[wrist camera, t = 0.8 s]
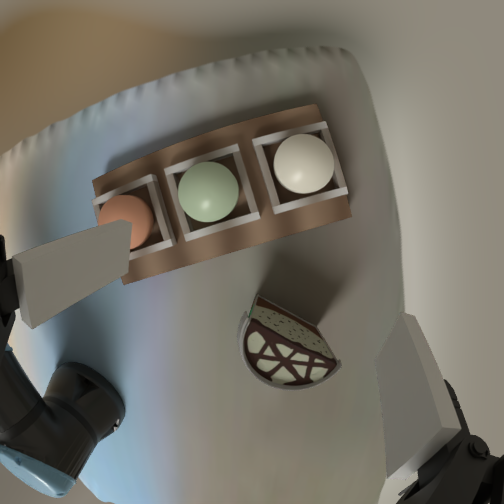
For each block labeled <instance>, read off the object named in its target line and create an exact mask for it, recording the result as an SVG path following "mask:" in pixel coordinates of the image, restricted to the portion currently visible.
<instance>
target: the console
mask: <svg viewBox="0 0 504 504" xmlns="http://www.w3.org/2000/svg"><path fill="white" fill-rule="evenodd" d="M297 134H309V135H312V136H315V137H317V138H319V139H321V140H322V141H323V142H324V143H325V144H326V145H327V146H328V147H329V149H330V151H331V152H332V155H333V159H334V171H333V175H332V177H331V179H330V181H329V182H328V183H327V184H326V185H325V186H324V187H323V188H321V189H320V190H318V191H315V192H310V193H305V194H299V193H294V192H291V191H289V190H287V189H286V188H284V187H283V186H282V185H281V184H280V183H279V181H278V180H277V178H276V176H275V173H274V169H273V161H274V157H275V154H276V152H277V150H278V148H279V146H280V145H281V144H282V142H283V141H285V140H286V139H287V138H289V137H291V136H294V135H297ZM202 162H215V163H219V164H221V165H223V166H225V167H226V168H227V169H229V170H230V172H231V173H232V174H233V175H234V177H235V178H236V180H237V183H238V186H239V199H238V202H237V204H236V206H235V208H234V209H233V210H232V212H231V213H230V214H228V215H227V216H226V217H224V218H222V219H219V220H217V221H213V222H202V221H198V220H195V219H193V218H192V217H190V216H189V215H188V214H187V213H186V212H185V211H184V210H183V208H182V207H181V205H180V202H179V198H178V187H179V183H180V181H181V178H182V177H183V175H184V174H185V172H186V171H187V170H188V169H190V168H191V167H192V166H194V165H196V164H198V163H202ZM92 182H93V187H94V191H95V195H96V198H95V199H93V200H92V204H93V207H94V211H95V215H96V218H97V222H98V217H99V213H100V211H101V208H102V207H103V205H104V204H105V203H106V202H107V201H108V200H109V199H110V198H112V197H114V196H118V195H133V196H137V197H140V198H141V199H143V200H144V201H145V202H146V203H147V204H148V205H149V207H150V209H151V211H152V214H153V219H154V224H153V230H152V233H151V235H150V237H149V238H148V239H147V241H146V242H145V243H143V244H142V245H140V246H138V247H135V248H133V249H130V255H129V268H128V273H127V274H125V275H123V276H121V279H122V282H123V285H126V284H129V283H132V282H135V281H139V280H142V279H145V278H148V277H152V276H155V275H158V274H162V273H165V272H168V271H172V270H175V269H178V268H181V267H185V266H188V265H191V264H195V263H198V262H201V261H205V260H208V259H211V258H215V257H218V256H221V255H225V254H228V253H231V252H235V251H238V250H241V249H245V248H248V247H251V246H255V245H258V244H262V243H265V242H268V241H272V240H275V239H278V238H282V237H285V236H288V235H292V234H295V233H299V232H302V231H305V230H309V229H312V228H316V227H319V226H322V225H326V224H329V223H333V222H336V221H339V220H343V219H346V218H350V217H352V214H351V211H350V207H349V203H348V199H347V195H346V194H348V190H347V187H346V183H345V180H344V176H343V173H342V169H341V166H340V163H339V160H338V156H337V153H336V150H335V147H334V144H333V141H332V138H331V135H330V132H329V129H328V126H327V124H326V121H324V122H323V119H322V117H321V114H320V111H319V109H318V106H317V104H312V105H307V106H302V107H298V108H293V109H289V110H284V111H280V112H276V113H272V114H268V115H264V116H261V117H257V118H253V119H250V120H246V121H243V122H239V123H236V124H232V125H229V126H226V127H223V128H220V129H216V130H213V131H210V132H207V133H204V134H201V135H198V136H196V137H193V138H190V139H187V140H184V141H182V142H179V143H176V144H174V145H171V146H168V147H166V148H163V149H161V150H158V151H156V152H153V153H151V154H149V155H146V156H144V157H141V158H139V159H137V160H134V161H132V162H130V163H128V164H125V165H123V166H121V167H119V168H117V169H114V170H112V171H110V172H108V173H106V174H104V175H102V176H100V177H98V178H96V179H94V180H92Z"/></svg>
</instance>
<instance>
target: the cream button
mask: <svg viewBox="0 0 504 504" xmlns="http://www.w3.org/2000/svg"><path fill="white" fill-rule="evenodd" d="M273 169H274V173H275V176H276V178H277V180H278V181H279V183H280V184H281V185H282V186H283V187H284V188H286V189H287V190H289V191H291V192H294V193H299V194H305V193H310V192H315V191H318V190H320V189H321V188H323V187H324V186H325V185H326V184H327V183H328V182H329V181H330V179H331V177H332V175H333V171H334V159H333V155H332V152H331V151H330V149H329V147H328V146H327V145H326V144H325V143H324V142H323V141H322V140H321V139H319V138H317V137H315V136H312V135H309V134H297V135H294V136H291V137H289V138H287V139H286V140H285V141H283V142H282V144H281V145H280V146H279V148H278V150H277V152H276V154H275V157H274V161H273Z"/></svg>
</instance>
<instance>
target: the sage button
mask: <svg viewBox="0 0 504 504" xmlns="http://www.w3.org/2000/svg"><path fill="white" fill-rule="evenodd" d="M178 198H179V202H180V205H181V207H182V208H183V210H184V211H185V212H186V213H187V214H188V215H189V216H190V217H192V218H193V219H195V220H198V221H202V222H213V221H217V220H219V219H222V218H224V217H226V216H227V215H228V214H230V213H231V212H232V210H233V209H234V208H235V206H236V204H237V202H238V199H239V186H238V183H237V180H236V178H235V177H234V175H233V174H232V173H231V172H230V170H229V169H227V168H226V167H225V166H223V165H221V164H219V163H215V162H202V163H198V164H196V165H194V166H192V167H191V168H190V169H188V170H187V171H186V172H185V174H184V175H183V177H182V178H181V181H180V183H179V187H178Z"/></svg>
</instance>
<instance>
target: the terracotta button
mask: <svg viewBox="0 0 504 504" xmlns="http://www.w3.org/2000/svg"><path fill="white" fill-rule="evenodd" d="M120 219H123V220H126V221H128V222H131V223H133V224H132V233H131V243H130V249H133V248H135V247H138V246H140V245H142V244H143V243H145V242H146V241H147V239H148V238H149V237H150V235H151V233H152V230H153V224H154V219H153V214H152V211H151V209H150V207H149V205H148V204H147V203H146V202H145V201H144V200H143V199H141V198H140V197H137V196H133V195H118V196H114V197H112V198H110V199H109V200H108V201H107V202H106V203H105V204H104V205H103V207H102V208H101V211H100V213H99V217H98V226H100V225H103V224H106V223H110V222H113V221H116V220H120Z"/></svg>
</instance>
